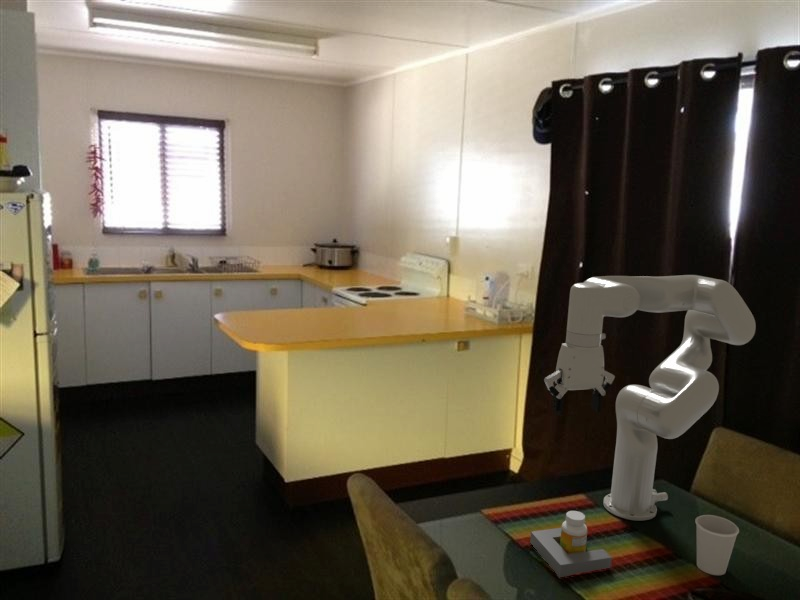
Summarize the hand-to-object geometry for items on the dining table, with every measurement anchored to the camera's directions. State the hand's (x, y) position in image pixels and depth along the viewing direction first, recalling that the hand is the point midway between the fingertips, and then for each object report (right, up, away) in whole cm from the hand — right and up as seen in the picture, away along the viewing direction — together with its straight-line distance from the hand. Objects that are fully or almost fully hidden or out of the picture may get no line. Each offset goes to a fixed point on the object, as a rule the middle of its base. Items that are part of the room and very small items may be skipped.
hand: (576, 412), depth 151 cm
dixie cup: (+26, -32, -9) cm, 42 cm away
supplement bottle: (-3, -30, -7) cm, 31 cm away
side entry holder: (-4, -30, -7) cm, 31 cm away
